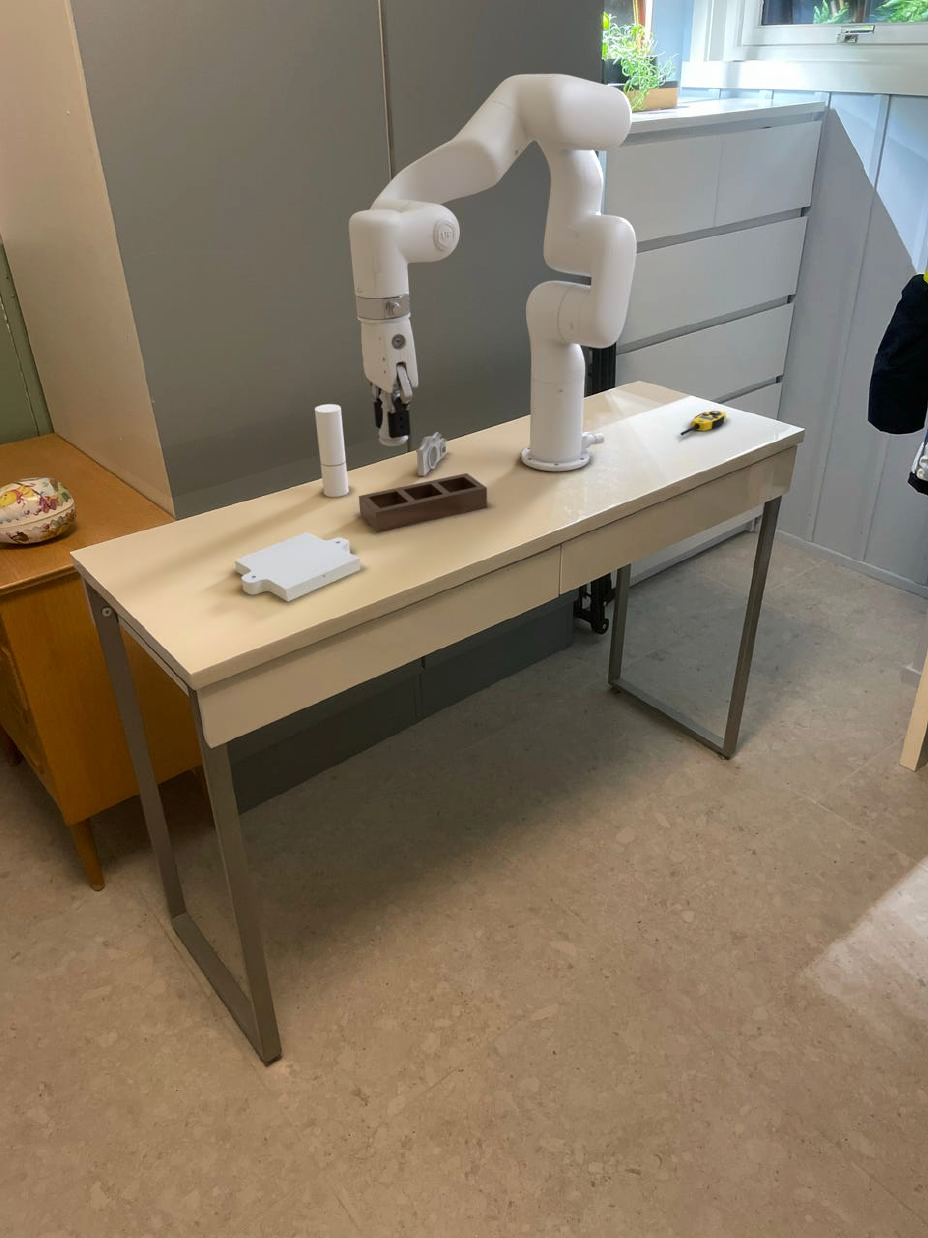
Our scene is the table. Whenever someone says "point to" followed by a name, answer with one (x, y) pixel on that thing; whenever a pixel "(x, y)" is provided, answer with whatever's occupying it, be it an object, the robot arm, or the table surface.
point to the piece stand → (422, 502)
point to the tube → (331, 450)
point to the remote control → (707, 421)
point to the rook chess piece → (384, 427)
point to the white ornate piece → (430, 453)
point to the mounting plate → (296, 566)
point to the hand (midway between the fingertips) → (392, 429)
